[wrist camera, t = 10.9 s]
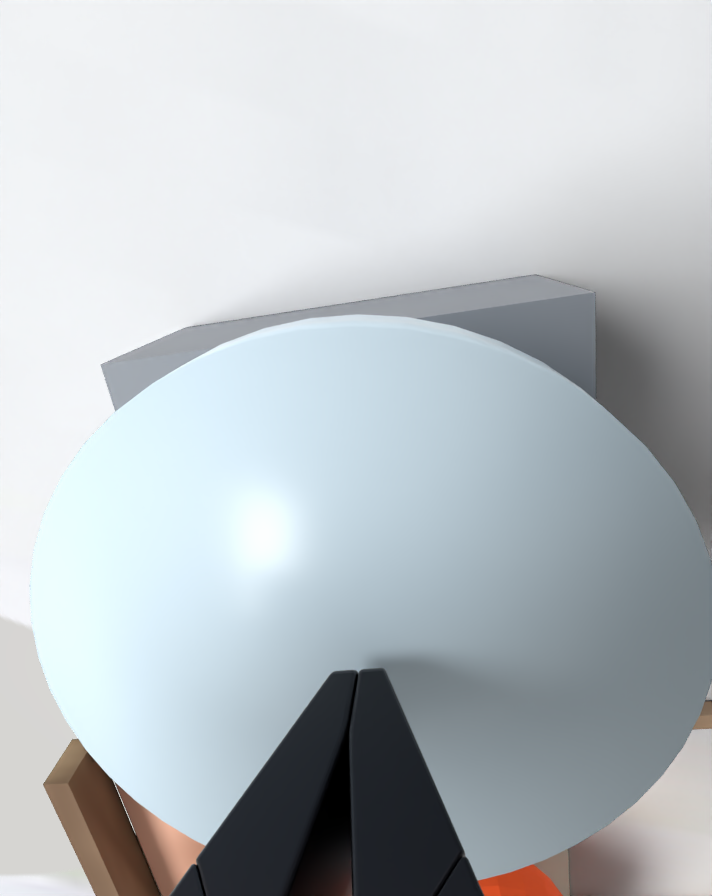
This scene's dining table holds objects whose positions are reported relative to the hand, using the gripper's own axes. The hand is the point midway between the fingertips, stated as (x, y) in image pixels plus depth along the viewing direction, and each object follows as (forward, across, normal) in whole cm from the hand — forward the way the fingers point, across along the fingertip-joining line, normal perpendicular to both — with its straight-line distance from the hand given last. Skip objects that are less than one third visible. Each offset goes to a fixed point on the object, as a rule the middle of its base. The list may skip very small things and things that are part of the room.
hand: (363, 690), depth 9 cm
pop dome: (+6, 0, 0) cm, 6 cm away
